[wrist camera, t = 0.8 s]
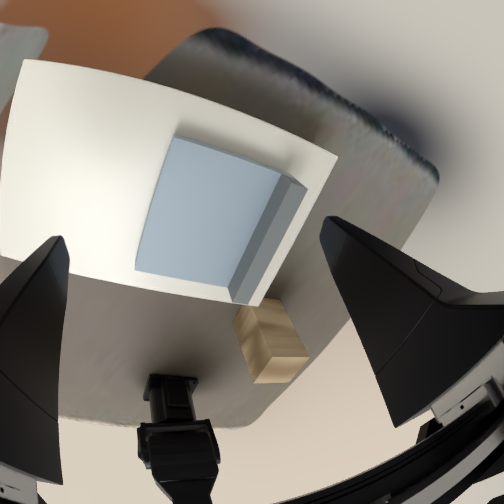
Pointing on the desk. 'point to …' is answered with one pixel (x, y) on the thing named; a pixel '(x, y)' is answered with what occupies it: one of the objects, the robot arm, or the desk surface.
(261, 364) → the wooden peg
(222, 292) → the socket base
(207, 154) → the sliding cover
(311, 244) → the desk surface
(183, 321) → the desk surface
